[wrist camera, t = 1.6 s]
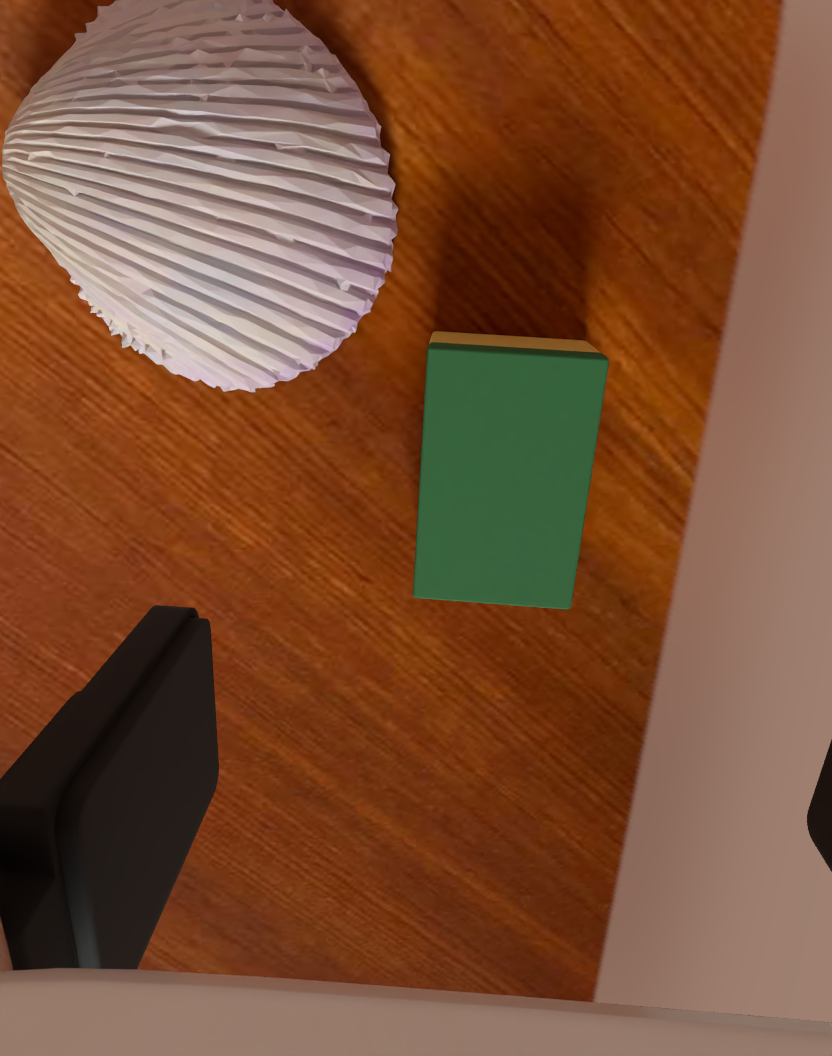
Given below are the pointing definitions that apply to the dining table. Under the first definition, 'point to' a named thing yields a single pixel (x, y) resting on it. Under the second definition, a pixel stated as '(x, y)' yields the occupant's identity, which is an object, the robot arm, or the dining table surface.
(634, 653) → the dining table surface
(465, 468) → the scrub sponge
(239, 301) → the seashell
